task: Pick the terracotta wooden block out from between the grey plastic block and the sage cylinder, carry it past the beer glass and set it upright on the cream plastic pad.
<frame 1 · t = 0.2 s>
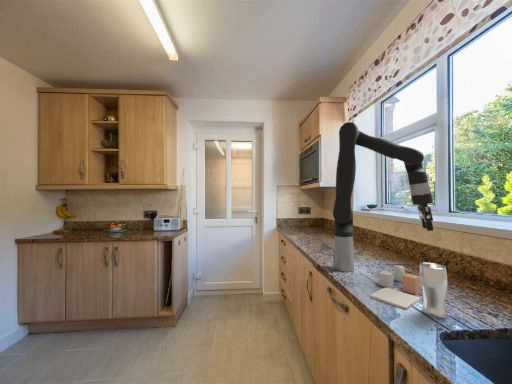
hand: (428, 229, 100), 22 cm above the worktop, tool pointing down, fingers open, 8 cm apart
terracotta block: (411, 291, 88), on the worktop
cream pad: (394, 298, 82), on the worktop
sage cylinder: (399, 280, 99), on the worktop
beer glass: (434, 313, 71), on the worktop
grey block: (386, 285, 94), on the worktop
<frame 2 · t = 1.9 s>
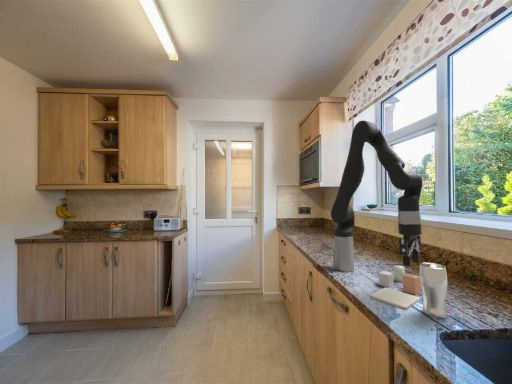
hand: (411, 263, 88), 11 cm above the worktop, tool pointing down, fingers open, 8 cm apart
nothing on the worktop moved.
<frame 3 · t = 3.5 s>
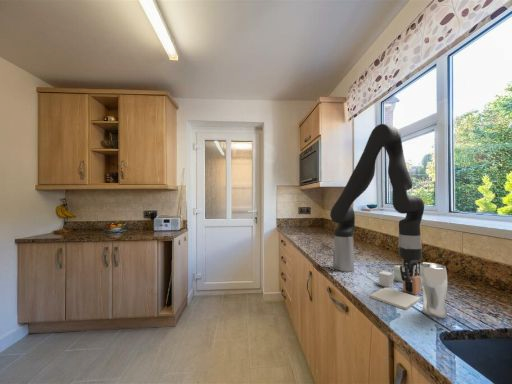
hand: (411, 289, 88), 1 cm above the worktop, tool pointing down, fingers closed on terracotta block, 4 cm apart
terracotta block: (411, 291, 88), on the worktop, touching gripper
everything else where it was.
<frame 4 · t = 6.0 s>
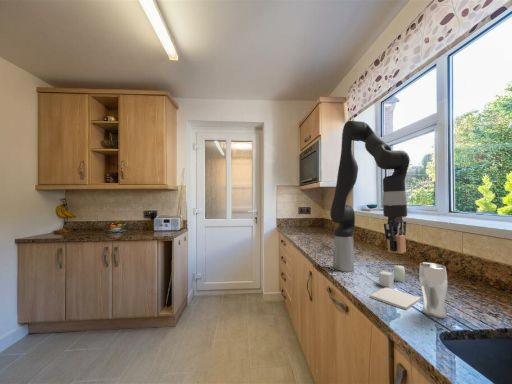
hand: (396, 249, 83), 17 cm above the worktop, tool pointing down, fingers closed on terracotta block, 4 cm apart
terracotta block: (396, 251, 83), point 17 cm above the worktop, touching gripper
everything else where it was.
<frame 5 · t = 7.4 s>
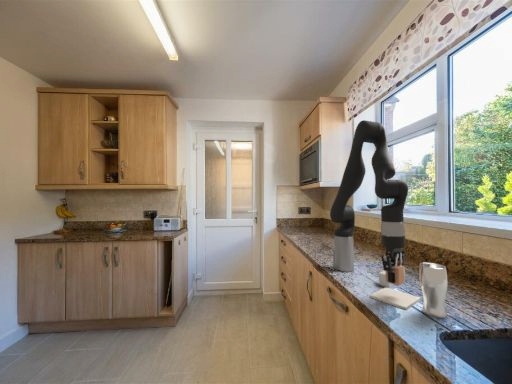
hand: (394, 280, 82), 6 cm above the worktop, tool pointing down, fingers closed on terracotta block, 4 cm apart
terracotta block: (395, 282, 82), point 6 cm above the worktop, touching gripper
everything else where it was.
when the fingers open (3 cm above the worktop, at t = 8.3 s): terracotta block drops 1 cm, resting on cream pad.
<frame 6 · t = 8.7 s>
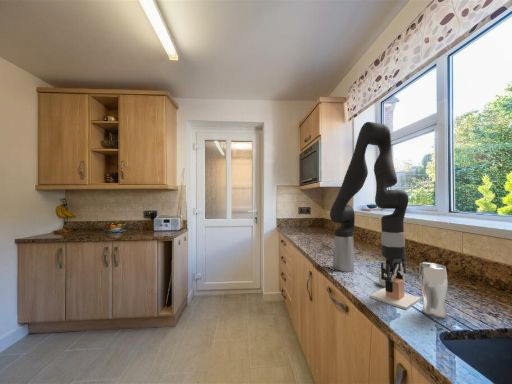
hand: (394, 288, 82), 4 cm above the worktop, tool pointing down, fingers open, 8 cm apart
terracotta block: (395, 296, 82), point 1 cm above the worktop, touching cream pad
everything else where it was.
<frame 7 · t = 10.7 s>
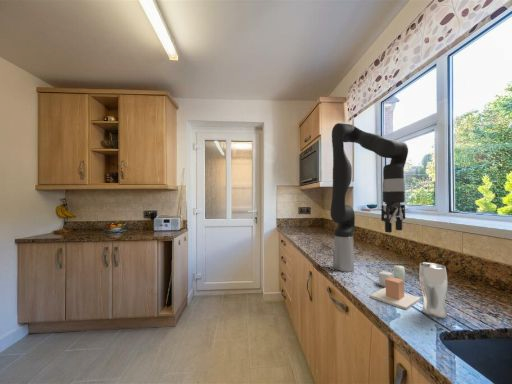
hand: (393, 231, 89), 23 cm above the worktop, tool pointing down, fingers open, 8 cm apart
nothing on the worktop moved.
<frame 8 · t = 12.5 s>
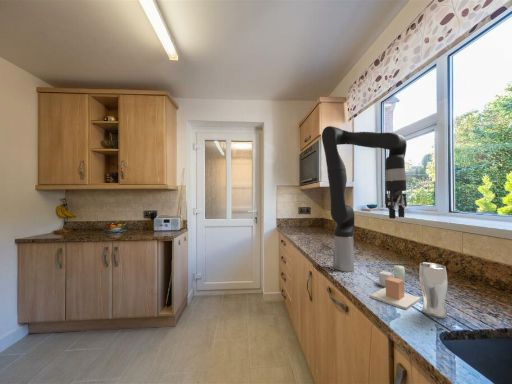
hand: (397, 217, 96), 28 cm above the worktop, tool pointing down, fingers open, 8 cm apart
nothing on the worktop moved.
at the end: terracotta block inside the target area on the cream pad (0.1 cm from its centre), point 0.8 cm above the cream pad's base; terracotta block tilted 0°; the gripper is holding nothing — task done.
